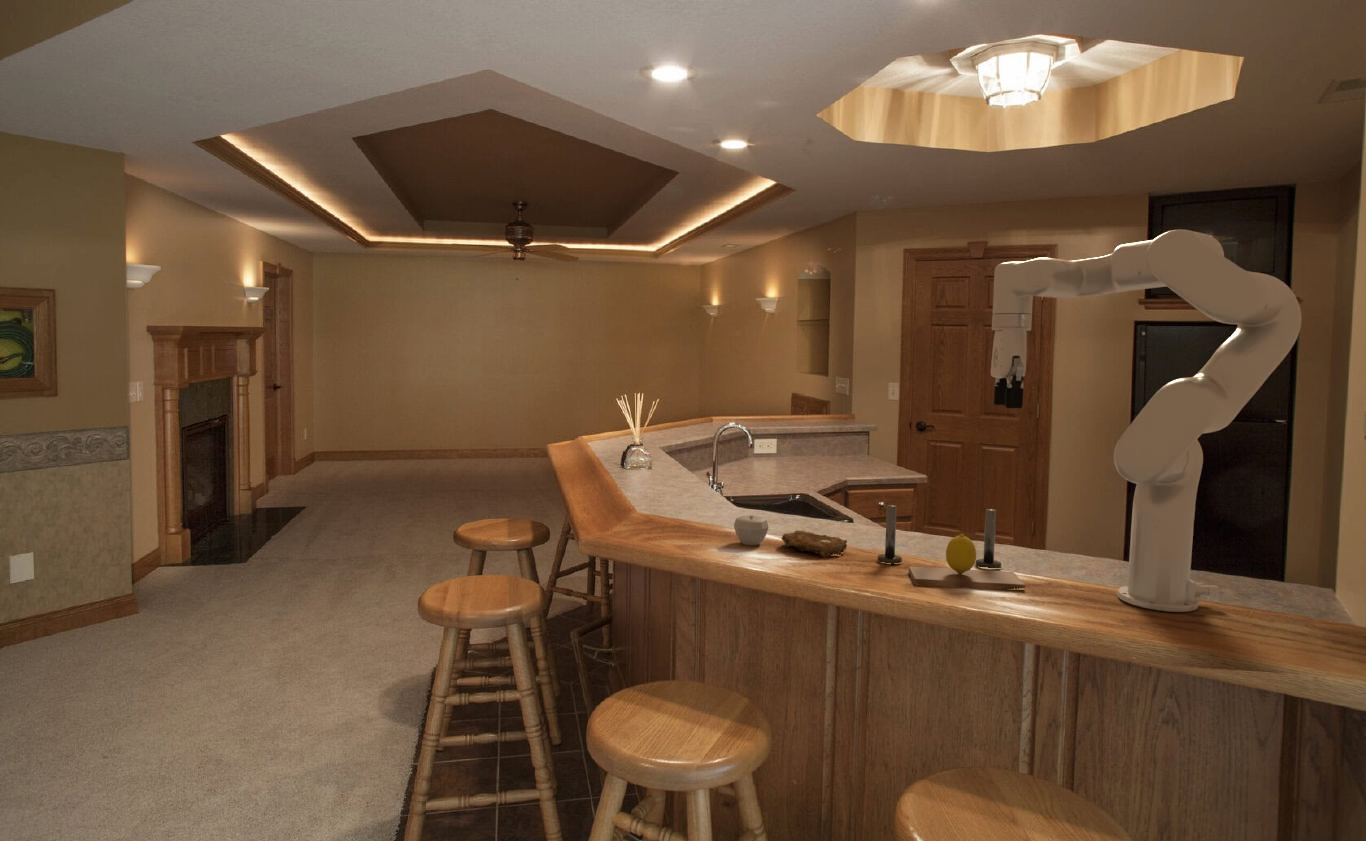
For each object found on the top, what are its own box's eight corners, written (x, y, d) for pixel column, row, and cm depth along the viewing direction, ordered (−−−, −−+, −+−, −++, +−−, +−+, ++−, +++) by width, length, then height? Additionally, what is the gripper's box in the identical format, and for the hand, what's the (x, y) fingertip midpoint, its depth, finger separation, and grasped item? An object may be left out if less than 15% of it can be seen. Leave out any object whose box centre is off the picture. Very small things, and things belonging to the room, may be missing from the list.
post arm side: (997, 564, 170) (1000, 508, 169) (1003, 570, 165) (1006, 512, 164) (973, 563, 171) (975, 507, 170) (978, 569, 166) (980, 511, 165)
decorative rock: (770, 553, 179) (835, 565, 171) (770, 536, 178) (836, 547, 171) (789, 540, 189) (852, 551, 181) (790, 523, 188) (853, 533, 181)
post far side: (900, 559, 173) (902, 504, 172) (903, 565, 168) (905, 508, 167) (876, 558, 174) (878, 503, 172) (878, 564, 169) (880, 507, 168)
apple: (748, 549, 179) (749, 520, 179) (726, 542, 186) (726, 514, 185) (775, 545, 184) (776, 516, 183) (752, 538, 190) (753, 510, 190)
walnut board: (1012, 577, 160) (1012, 571, 160) (1024, 590, 151) (1025, 584, 151) (908, 572, 163) (908, 566, 163) (914, 584, 154) (915, 578, 154)
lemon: (977, 579, 154) (979, 538, 153) (946, 577, 155) (948, 536, 154) (972, 571, 159) (974, 531, 159) (943, 569, 160) (945, 530, 160)
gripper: (983, 324, 175) (979, 403, 176) (1002, 321, 158) (998, 409, 159) (1019, 324, 174) (1015, 404, 175) (1043, 322, 157) (1038, 410, 158)
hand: (1007, 406), depth 167 cm, fingers open, 9 cm apart
